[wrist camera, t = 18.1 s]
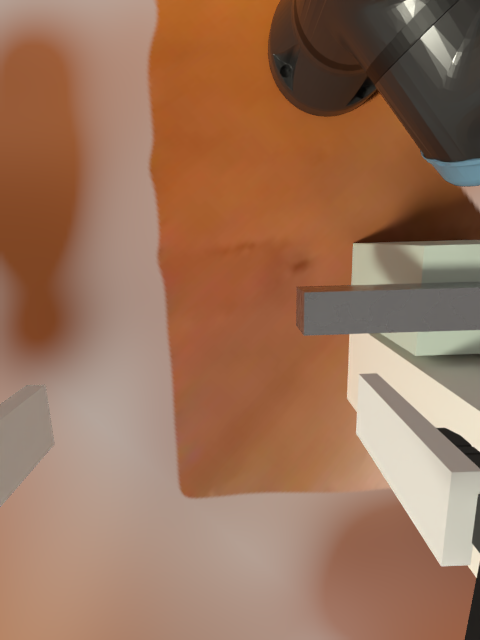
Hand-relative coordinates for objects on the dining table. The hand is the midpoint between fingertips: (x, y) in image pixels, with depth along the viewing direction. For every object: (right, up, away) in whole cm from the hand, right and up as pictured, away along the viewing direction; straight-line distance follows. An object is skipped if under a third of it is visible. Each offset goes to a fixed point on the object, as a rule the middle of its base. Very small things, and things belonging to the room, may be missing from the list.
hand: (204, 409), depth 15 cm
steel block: (+21, +5, +17) cm, 28 cm away
